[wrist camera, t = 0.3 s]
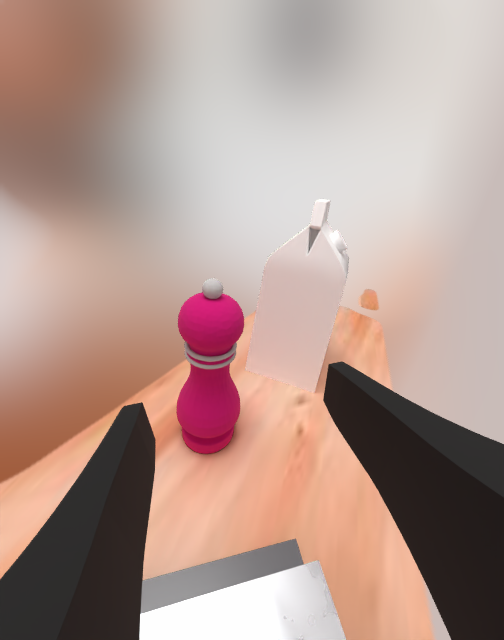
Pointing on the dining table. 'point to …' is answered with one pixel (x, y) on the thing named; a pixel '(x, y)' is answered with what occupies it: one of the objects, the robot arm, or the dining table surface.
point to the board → (218, 575)
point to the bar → (253, 611)
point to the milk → (299, 304)
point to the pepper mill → (209, 368)
